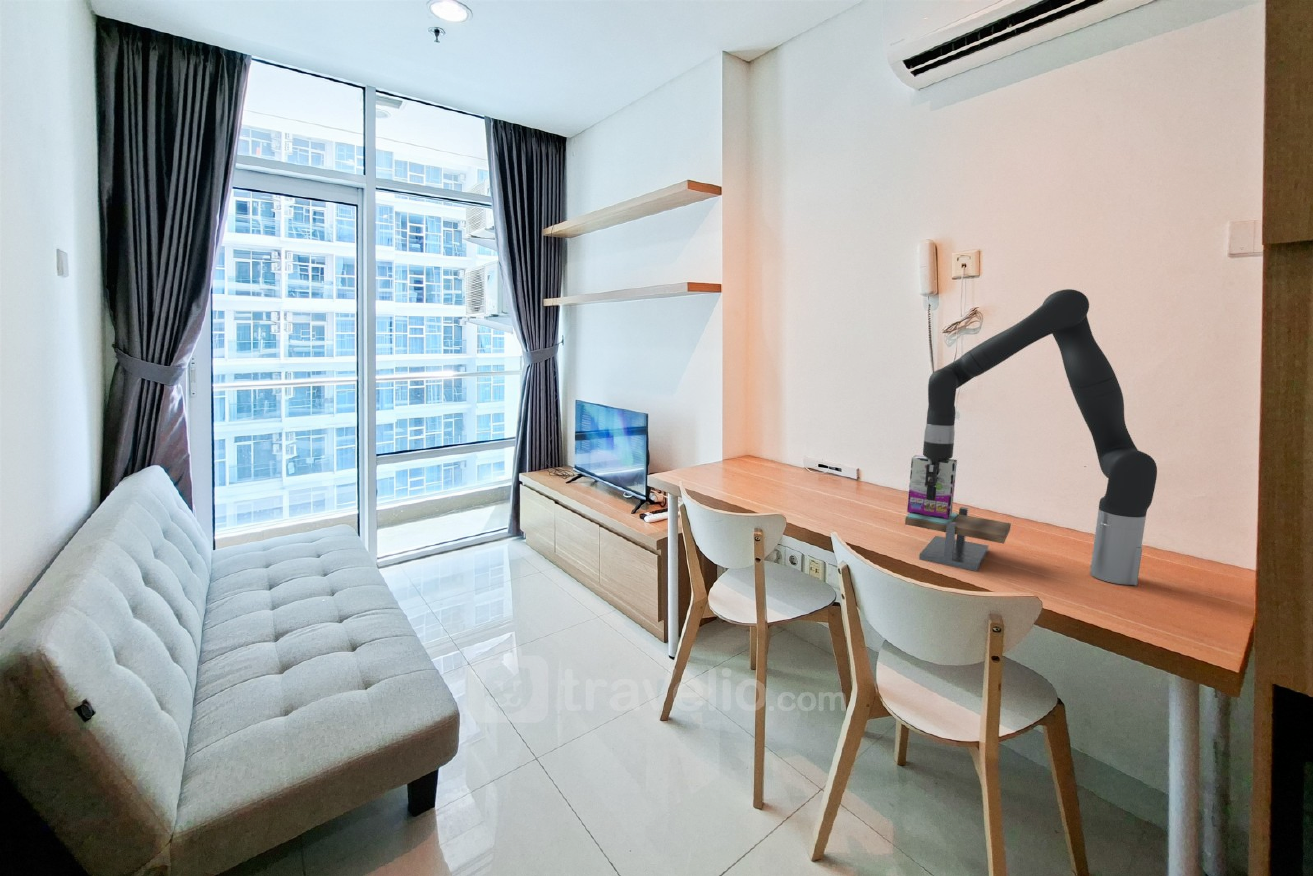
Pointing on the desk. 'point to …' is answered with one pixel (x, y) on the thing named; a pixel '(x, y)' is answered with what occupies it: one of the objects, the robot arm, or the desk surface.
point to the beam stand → (954, 549)
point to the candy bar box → (943, 490)
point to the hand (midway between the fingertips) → (933, 497)
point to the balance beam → (963, 526)
